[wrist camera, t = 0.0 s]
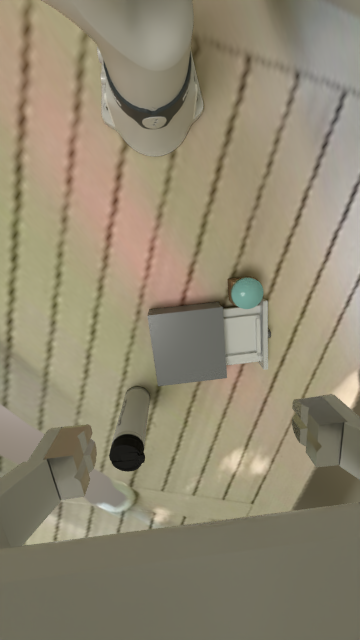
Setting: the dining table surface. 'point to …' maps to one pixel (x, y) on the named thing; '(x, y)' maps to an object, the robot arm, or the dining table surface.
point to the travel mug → (131, 431)
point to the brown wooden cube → (230, 284)
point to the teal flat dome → (246, 293)
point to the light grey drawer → (247, 334)
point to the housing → (188, 343)
